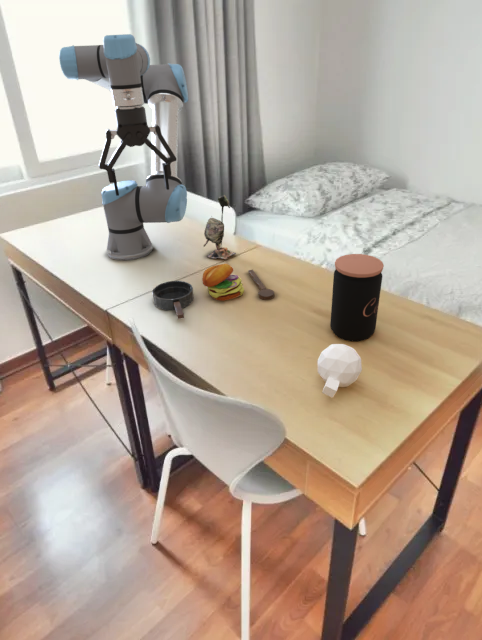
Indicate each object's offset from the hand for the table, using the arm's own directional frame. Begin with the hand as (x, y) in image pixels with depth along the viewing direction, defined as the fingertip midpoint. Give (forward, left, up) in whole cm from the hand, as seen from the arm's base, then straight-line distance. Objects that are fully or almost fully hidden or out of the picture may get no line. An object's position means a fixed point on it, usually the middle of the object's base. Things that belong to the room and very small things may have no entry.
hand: (142, 191), depth 127 cm
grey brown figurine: (-10, +22, -27) cm, 36 cm away
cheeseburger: (+17, +17, -27) cm, 36 cm away
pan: (+16, +3, -27) cm, 31 cm away
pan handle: (+26, +3, -27) cm, 37 cm away
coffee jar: (+46, +42, -27) cm, 68 cm away
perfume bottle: (+63, +29, -27) cm, 74 cm away
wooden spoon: (+16, +28, -27) cm, 42 cm away
